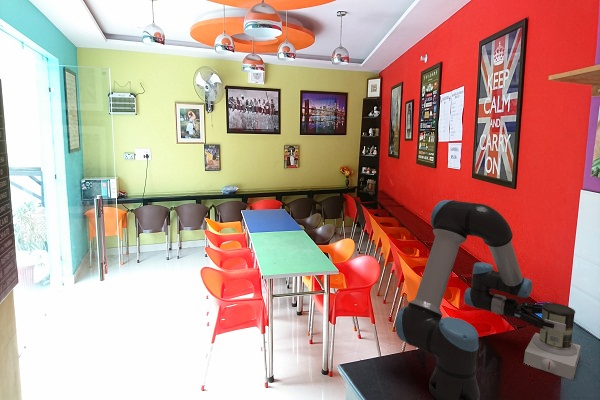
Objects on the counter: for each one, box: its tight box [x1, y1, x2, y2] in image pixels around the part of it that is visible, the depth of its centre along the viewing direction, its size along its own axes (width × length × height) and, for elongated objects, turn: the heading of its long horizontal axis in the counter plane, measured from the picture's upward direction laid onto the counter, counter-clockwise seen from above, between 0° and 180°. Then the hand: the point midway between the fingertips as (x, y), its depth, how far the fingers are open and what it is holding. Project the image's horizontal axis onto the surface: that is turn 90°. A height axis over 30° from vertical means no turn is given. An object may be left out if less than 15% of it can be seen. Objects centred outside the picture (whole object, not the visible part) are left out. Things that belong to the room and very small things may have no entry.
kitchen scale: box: [523, 332, 581, 381], centre depth 143 cm, size 15×21×6 cm
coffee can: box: [539, 302, 576, 350], centre depth 144 cm, size 10×10×14 cm
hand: (568, 322), depth 141 cm, fingers open, 13 cm apart
